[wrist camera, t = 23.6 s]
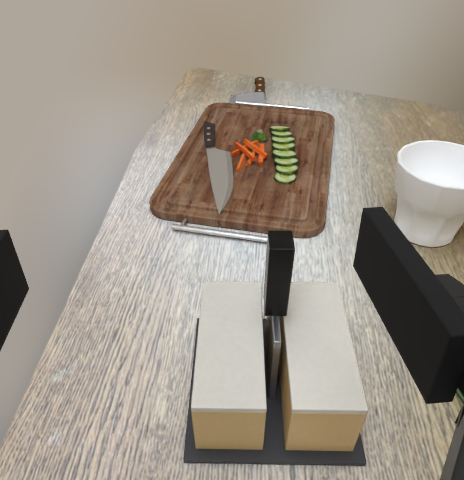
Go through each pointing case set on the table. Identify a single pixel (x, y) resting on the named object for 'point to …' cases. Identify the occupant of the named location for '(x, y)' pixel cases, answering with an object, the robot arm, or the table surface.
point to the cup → (430, 191)
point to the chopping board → (250, 172)
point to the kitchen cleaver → (251, 94)
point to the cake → (288, 381)
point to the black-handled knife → (276, 296)
